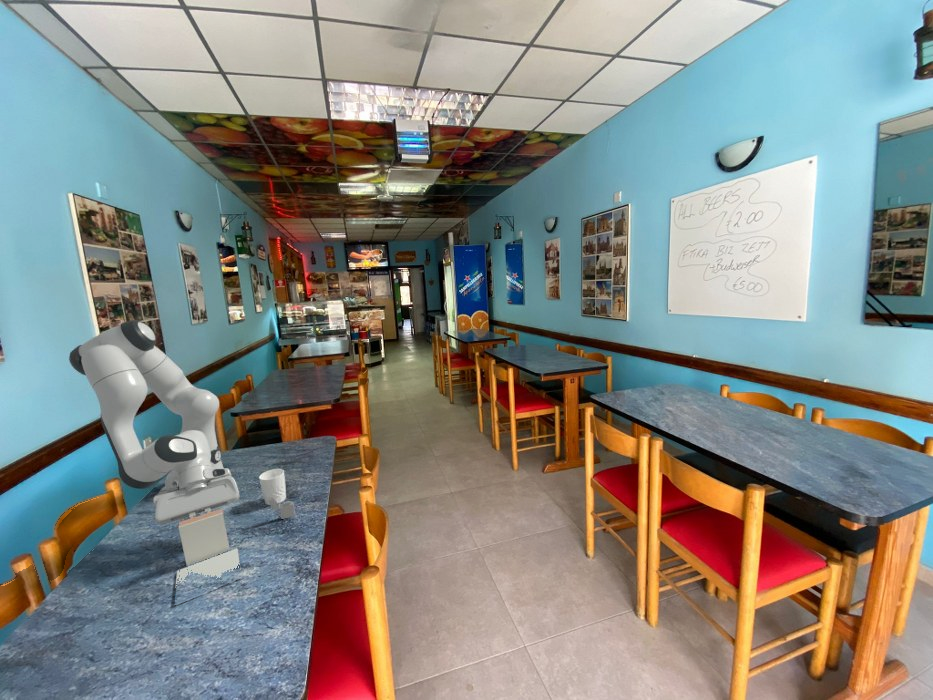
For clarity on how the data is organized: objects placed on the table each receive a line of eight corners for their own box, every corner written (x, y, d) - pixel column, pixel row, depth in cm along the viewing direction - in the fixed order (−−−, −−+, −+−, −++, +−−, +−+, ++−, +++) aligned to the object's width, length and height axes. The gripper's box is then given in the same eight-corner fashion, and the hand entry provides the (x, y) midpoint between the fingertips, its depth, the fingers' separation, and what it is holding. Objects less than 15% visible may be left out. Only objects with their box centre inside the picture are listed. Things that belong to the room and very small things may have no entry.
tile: (187, 561, 107) (179, 522, 104) (229, 545, 112) (222, 508, 110) (187, 567, 104) (178, 527, 102) (229, 551, 110) (222, 513, 108)
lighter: (295, 513, 126) (291, 491, 125) (295, 516, 125) (291, 493, 123) (271, 520, 123) (267, 497, 122) (271, 523, 122) (267, 500, 120)
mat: (177, 572, 102) (177, 570, 102) (237, 549, 110) (237, 548, 110) (174, 607, 91) (173, 604, 91) (241, 579, 98) (241, 577, 98)
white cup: (292, 494, 139) (288, 468, 137) (279, 506, 131) (275, 479, 129) (272, 494, 140) (267, 468, 138) (258, 506, 132) (253, 479, 130)
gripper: (150, 489, 107) (153, 538, 101) (234, 467, 118) (242, 510, 112) (155, 497, 111) (158, 545, 105) (236, 474, 123) (243, 516, 116)
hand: (202, 526), depth 108 cm, fingers closed
